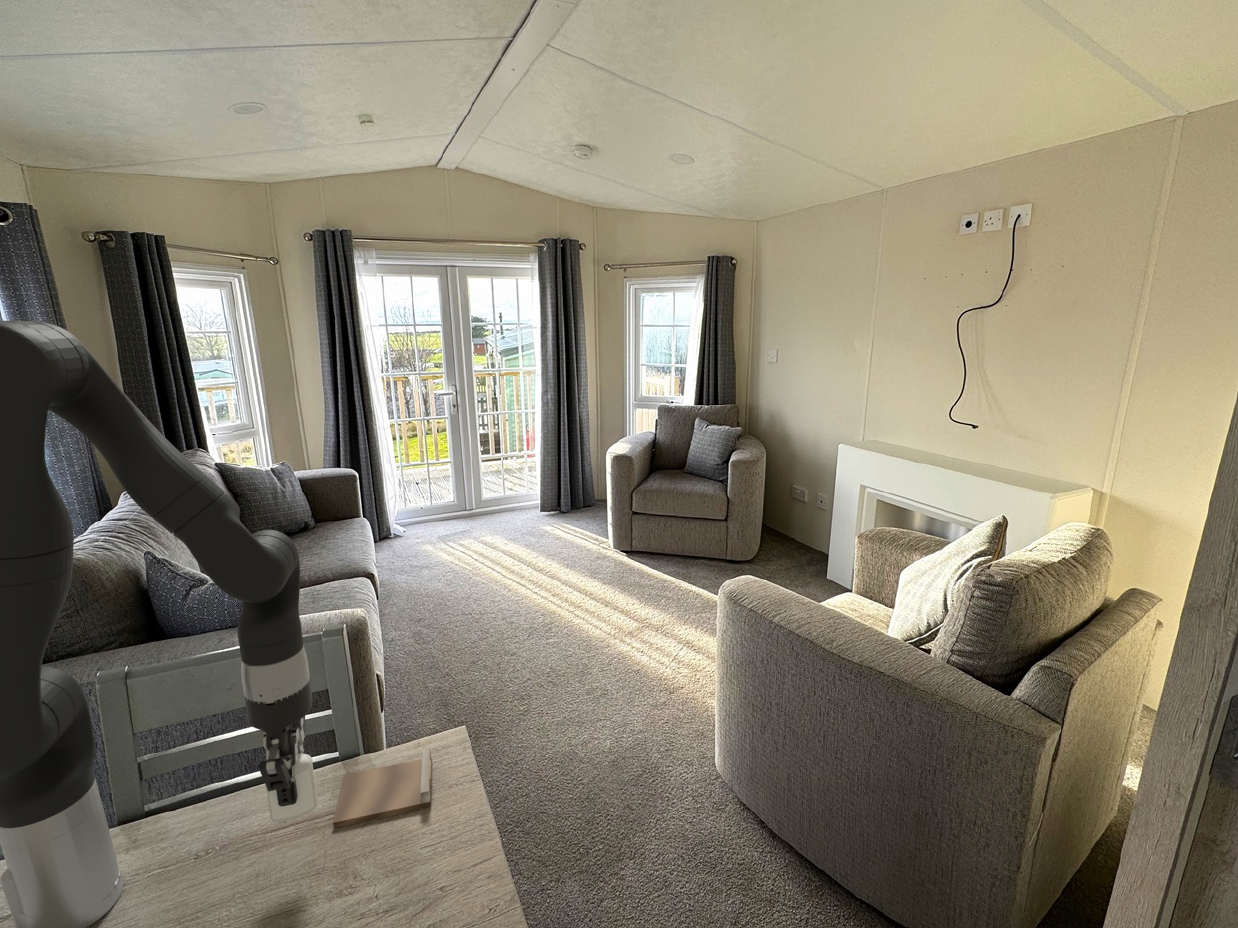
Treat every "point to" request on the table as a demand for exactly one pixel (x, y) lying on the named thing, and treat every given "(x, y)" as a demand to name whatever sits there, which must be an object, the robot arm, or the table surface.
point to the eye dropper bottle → (304, 791)
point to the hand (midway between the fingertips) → (291, 791)
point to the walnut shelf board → (384, 791)
